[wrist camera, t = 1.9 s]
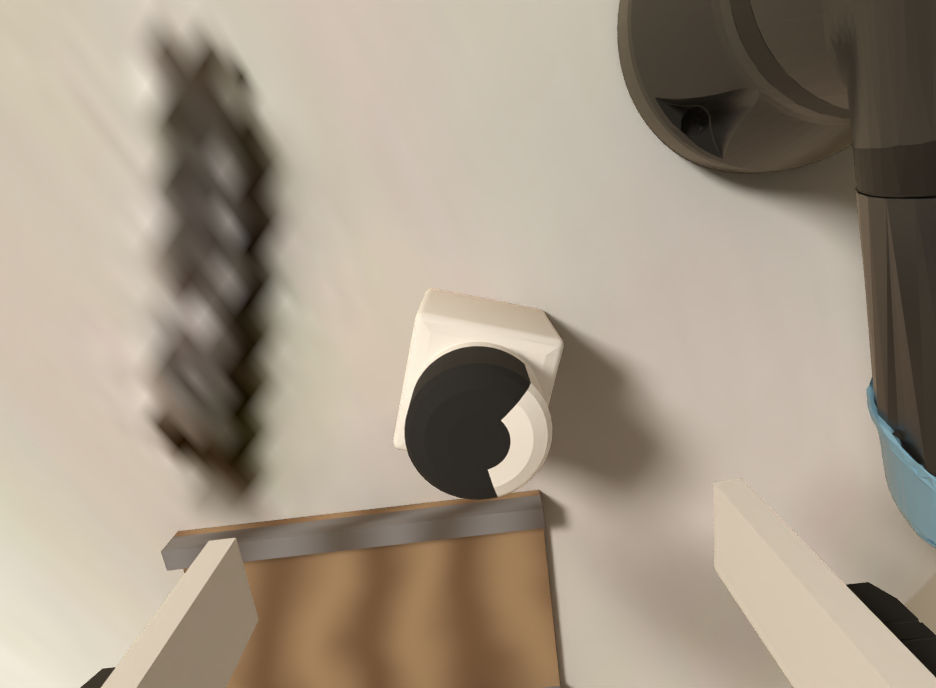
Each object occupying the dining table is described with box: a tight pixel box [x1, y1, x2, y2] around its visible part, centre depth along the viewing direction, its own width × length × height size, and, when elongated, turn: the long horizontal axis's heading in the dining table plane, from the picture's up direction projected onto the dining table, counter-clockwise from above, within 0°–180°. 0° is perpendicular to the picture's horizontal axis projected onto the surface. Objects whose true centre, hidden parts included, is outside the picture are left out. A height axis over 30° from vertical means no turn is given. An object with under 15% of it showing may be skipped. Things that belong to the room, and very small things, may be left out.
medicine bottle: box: [393, 288, 564, 500], centre depth 27 cm, size 7×7×12 cm
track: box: [161, 490, 560, 688], centre depth 37 cm, size 24×17×2 cm
